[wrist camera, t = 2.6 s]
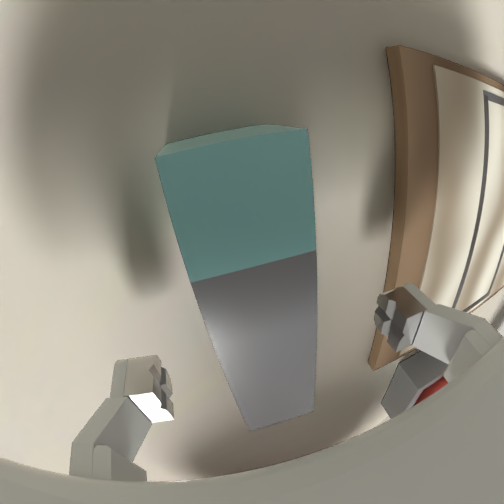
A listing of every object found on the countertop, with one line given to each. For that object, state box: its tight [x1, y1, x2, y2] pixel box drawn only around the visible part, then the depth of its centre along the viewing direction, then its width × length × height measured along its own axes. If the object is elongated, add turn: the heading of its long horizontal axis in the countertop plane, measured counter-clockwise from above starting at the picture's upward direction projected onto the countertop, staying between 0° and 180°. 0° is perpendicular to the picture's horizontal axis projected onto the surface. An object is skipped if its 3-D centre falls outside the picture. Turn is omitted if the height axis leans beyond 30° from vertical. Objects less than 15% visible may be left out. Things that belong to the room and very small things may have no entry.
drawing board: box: [368, 45, 504, 371], centre depth 13 cm, size 20×18×1 cm
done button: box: [415, 376, 448, 404], centre depth 17 cm, size 4×4×3 cm
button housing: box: [381, 351, 449, 419], centre depth 19 cm, size 7×7×3 cm
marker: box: [155, 124, 317, 431], centre depth 9 cm, size 12×3×3 cm, turn 9°
